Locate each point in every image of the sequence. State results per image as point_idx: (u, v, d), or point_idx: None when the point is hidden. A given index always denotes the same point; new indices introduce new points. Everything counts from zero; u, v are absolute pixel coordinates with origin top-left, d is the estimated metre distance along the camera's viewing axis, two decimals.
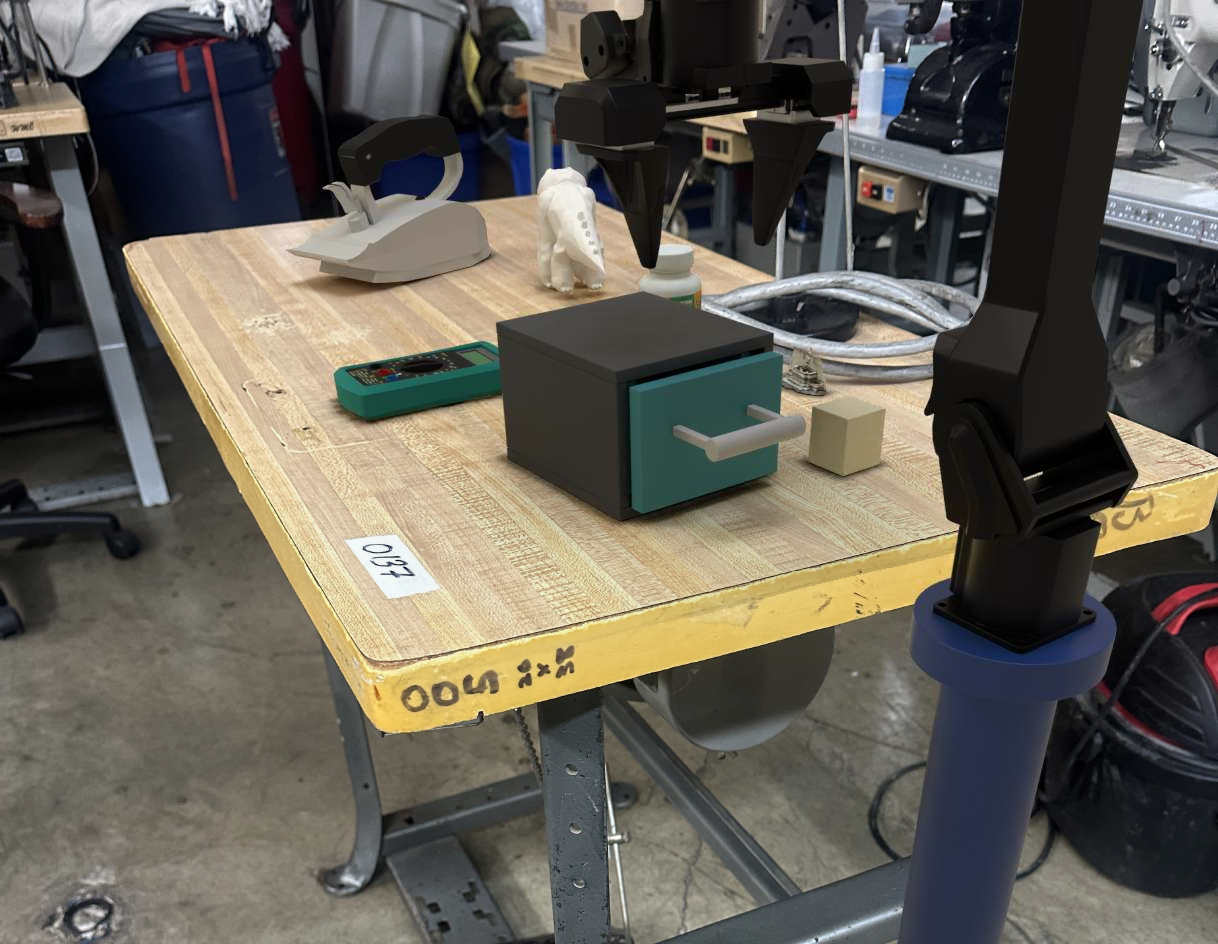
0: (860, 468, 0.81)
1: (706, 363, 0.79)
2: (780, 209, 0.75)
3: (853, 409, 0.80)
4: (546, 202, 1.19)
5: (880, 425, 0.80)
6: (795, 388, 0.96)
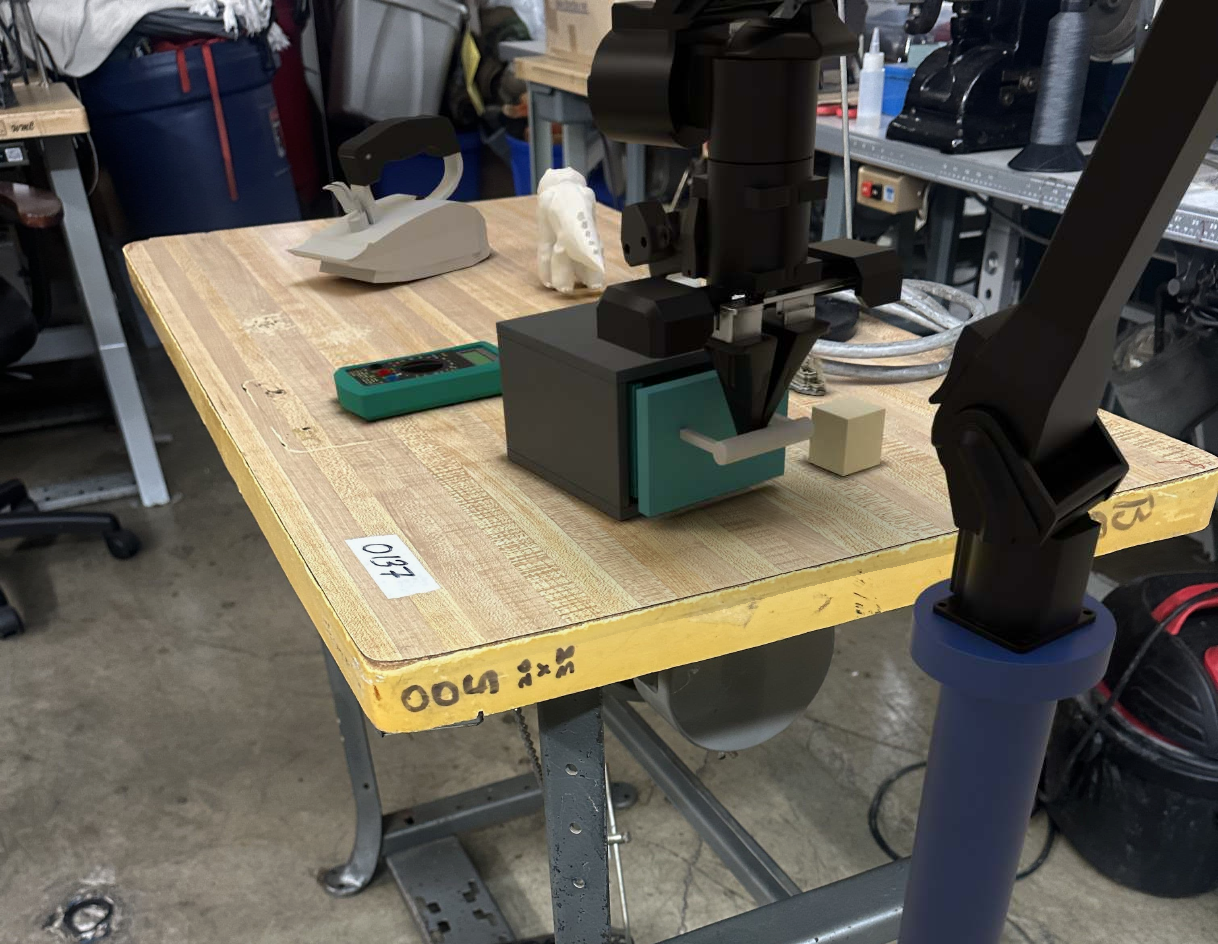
0: (860, 468, 0.81)
1: (712, 366, 0.79)
2: (771, 408, 0.70)
3: (853, 409, 0.80)
4: (546, 202, 1.19)
5: (880, 425, 0.80)
6: (795, 388, 0.96)
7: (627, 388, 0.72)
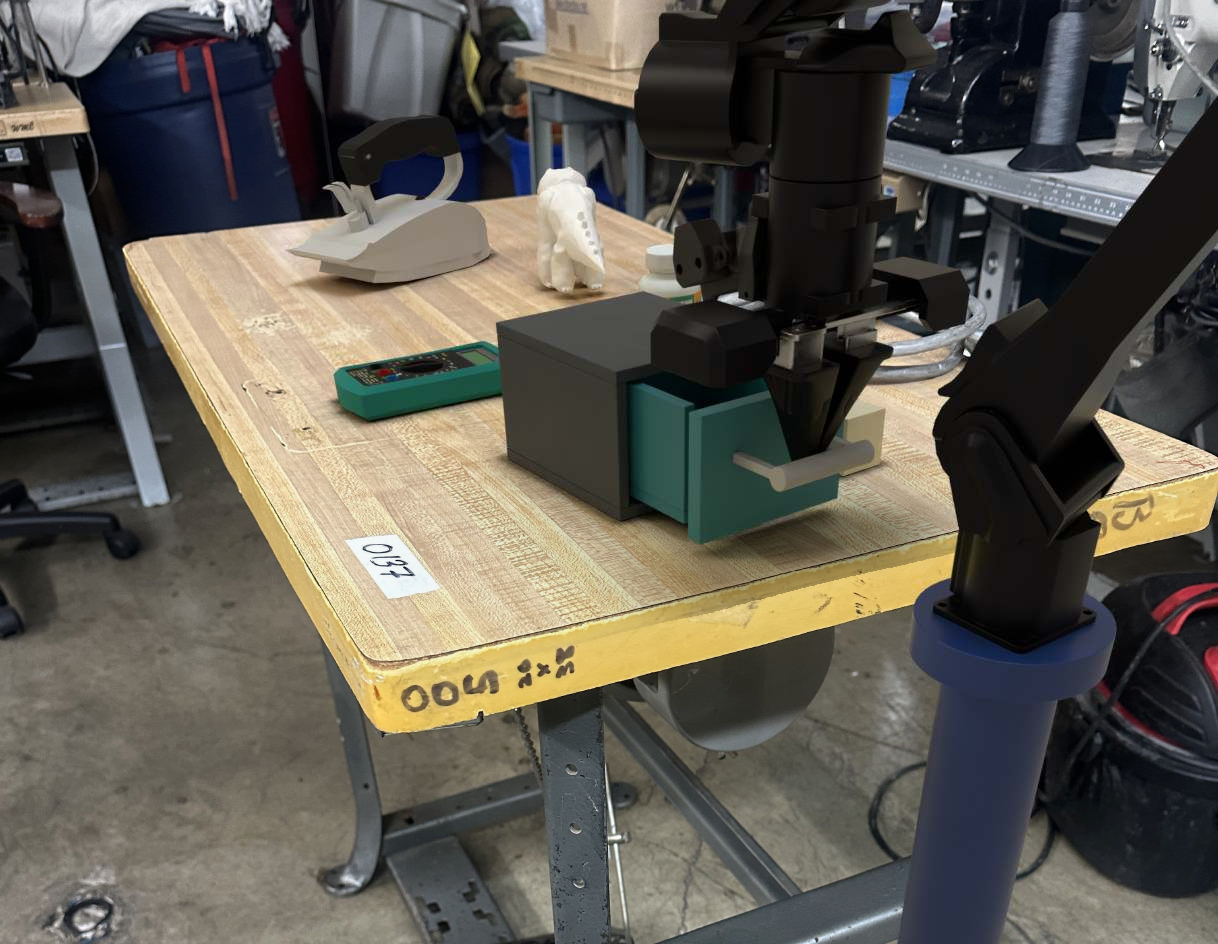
0: (860, 468, 0.81)
1: (763, 385, 0.75)
2: (829, 436, 0.67)
3: (853, 409, 0.80)
4: (546, 202, 1.19)
5: (880, 425, 0.80)
6: None
7: (677, 409, 0.69)
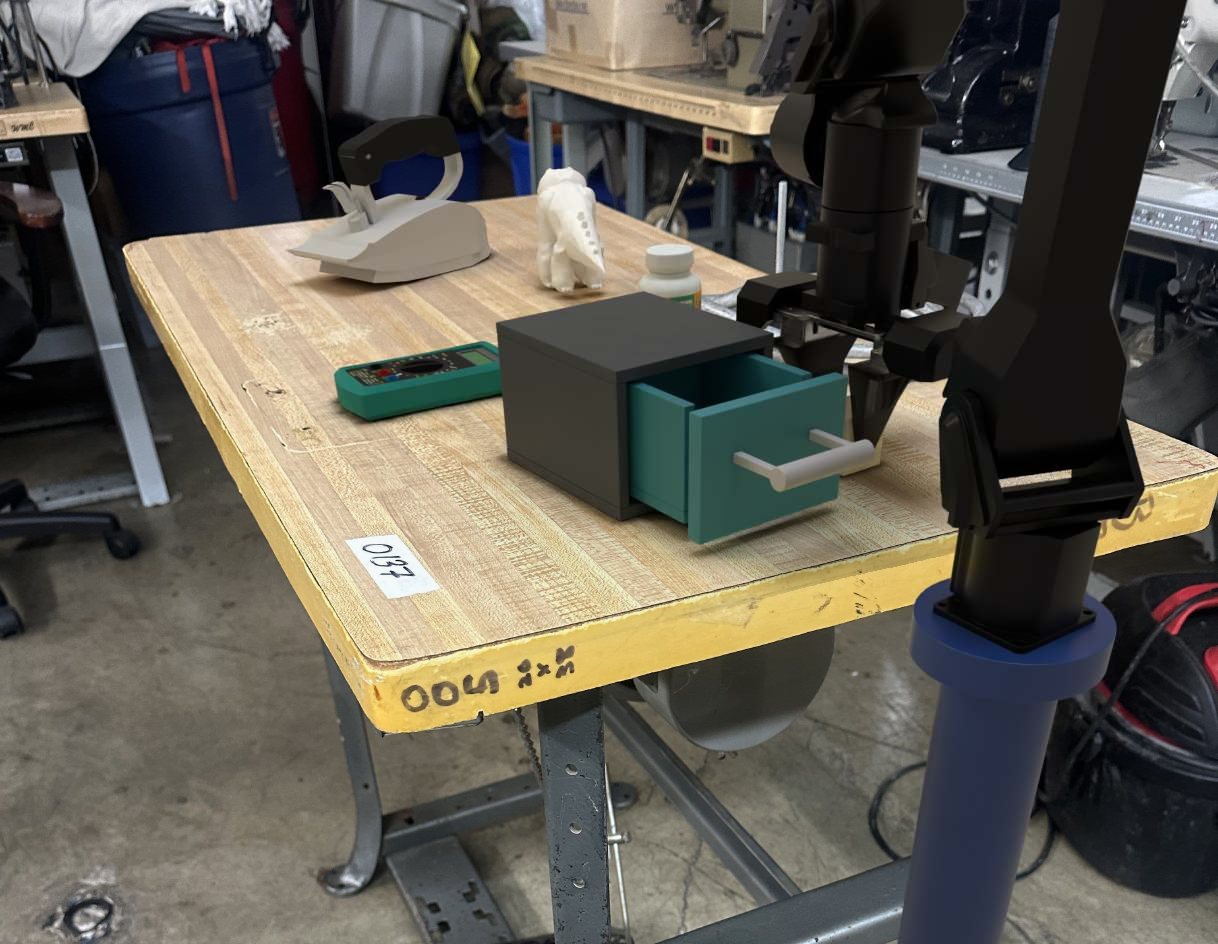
0: (860, 468, 0.81)
1: (763, 385, 0.75)
2: (856, 430, 0.79)
3: None
4: (546, 202, 1.19)
5: None
6: None
7: (677, 409, 0.69)
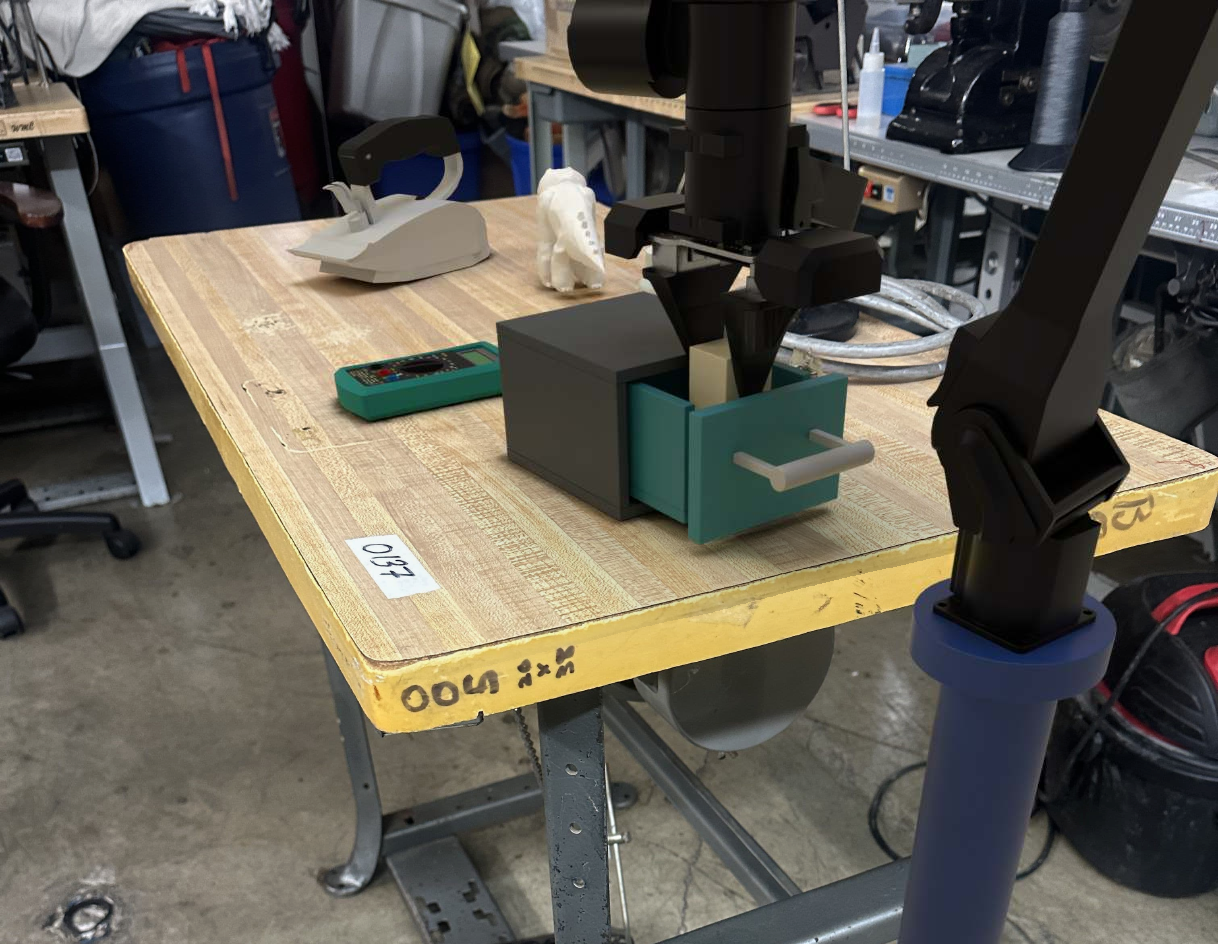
0: None
1: None
2: (737, 372, 0.69)
3: None
4: (546, 202, 1.19)
5: None
6: None
7: (677, 409, 0.69)
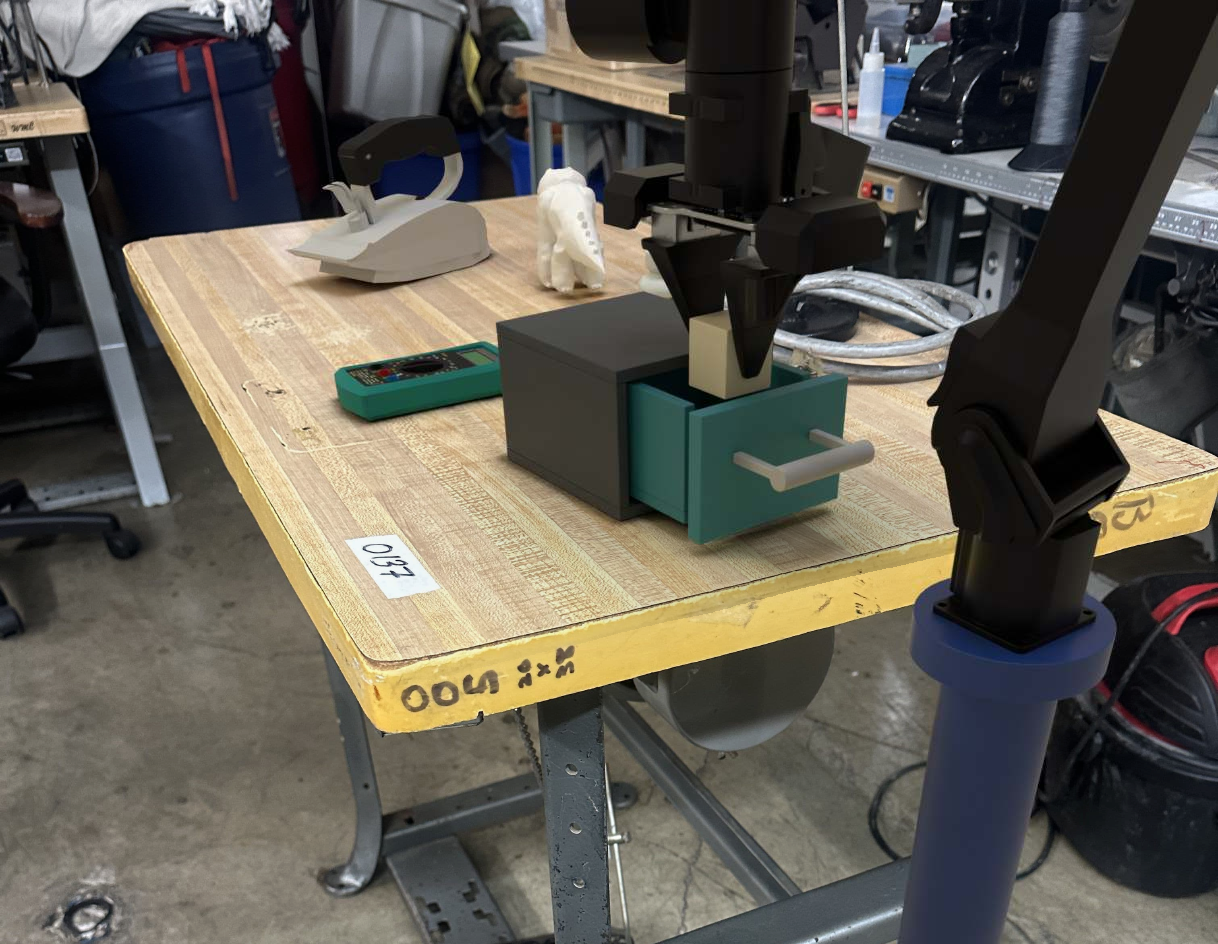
0: (746, 391, 0.70)
1: None
2: (738, 344, 0.68)
3: None
4: (546, 202, 1.19)
5: None
6: None
7: (677, 409, 0.69)
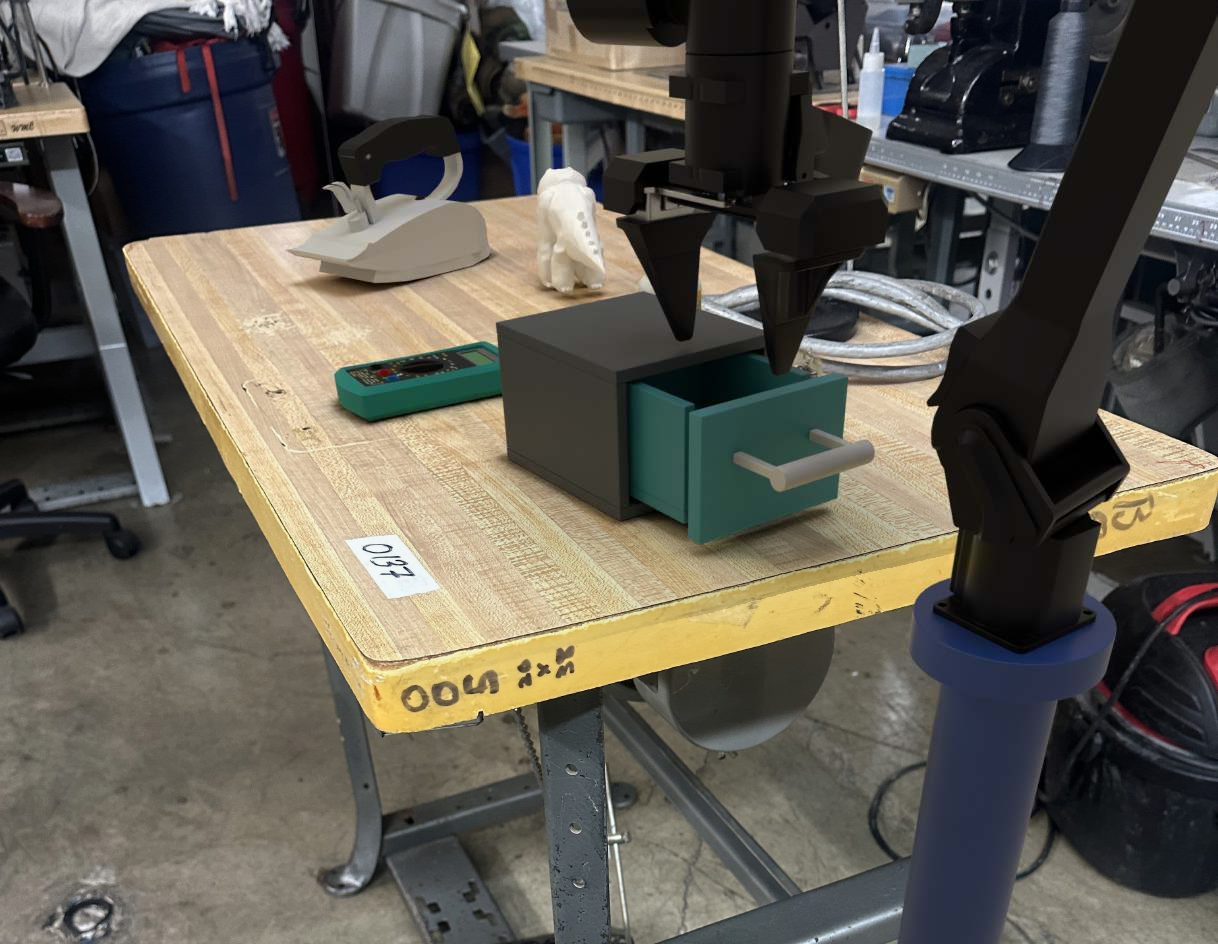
0: None
1: (763, 385, 0.75)
2: (768, 339, 0.65)
3: None
4: (546, 202, 1.19)
5: None
6: None
7: (677, 409, 0.69)
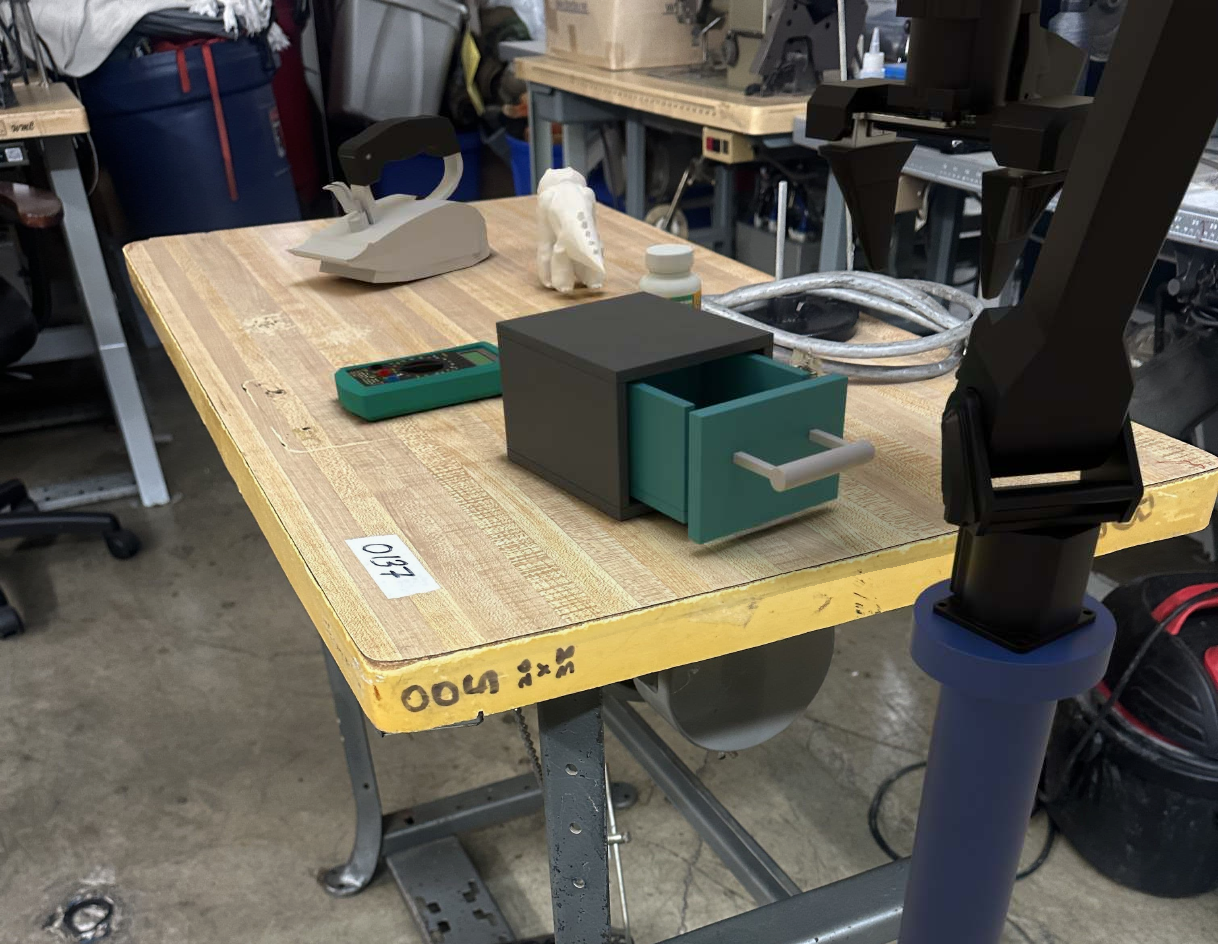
0: None
1: (763, 385, 0.75)
2: (985, 261, 0.66)
3: None
4: (546, 202, 1.19)
5: None
6: None
7: (677, 409, 0.69)
